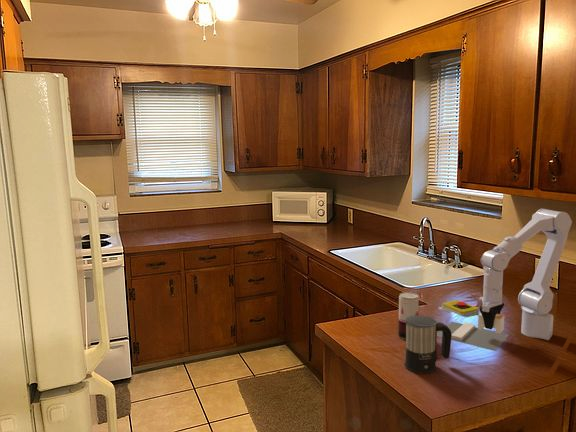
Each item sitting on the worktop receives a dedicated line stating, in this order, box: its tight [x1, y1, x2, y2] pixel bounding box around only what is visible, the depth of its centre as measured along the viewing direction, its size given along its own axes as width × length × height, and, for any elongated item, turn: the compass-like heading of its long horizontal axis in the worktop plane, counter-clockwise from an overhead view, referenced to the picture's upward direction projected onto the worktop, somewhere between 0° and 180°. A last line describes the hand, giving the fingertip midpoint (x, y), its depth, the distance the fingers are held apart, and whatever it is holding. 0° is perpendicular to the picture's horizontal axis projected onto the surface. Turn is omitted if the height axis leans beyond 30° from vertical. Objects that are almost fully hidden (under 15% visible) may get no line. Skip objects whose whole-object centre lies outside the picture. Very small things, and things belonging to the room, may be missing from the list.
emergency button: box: [437, 299, 480, 317], centre depth 186 cm, size 9×4×15 cm
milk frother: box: [404, 314, 452, 375], centre depth 145 cm, size 14×16×15 cm
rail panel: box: [437, 321, 510, 352], centre depth 161 cm, size 20×16×2 cm
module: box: [477, 312, 505, 334], centre depth 157 cm, size 7×4×5 cm, turn 50°
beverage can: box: [397, 291, 420, 340], centre depth 163 cm, size 6×6×15 cm
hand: (491, 326), depth 157 cm, fingers closed on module, 4 cm apart
